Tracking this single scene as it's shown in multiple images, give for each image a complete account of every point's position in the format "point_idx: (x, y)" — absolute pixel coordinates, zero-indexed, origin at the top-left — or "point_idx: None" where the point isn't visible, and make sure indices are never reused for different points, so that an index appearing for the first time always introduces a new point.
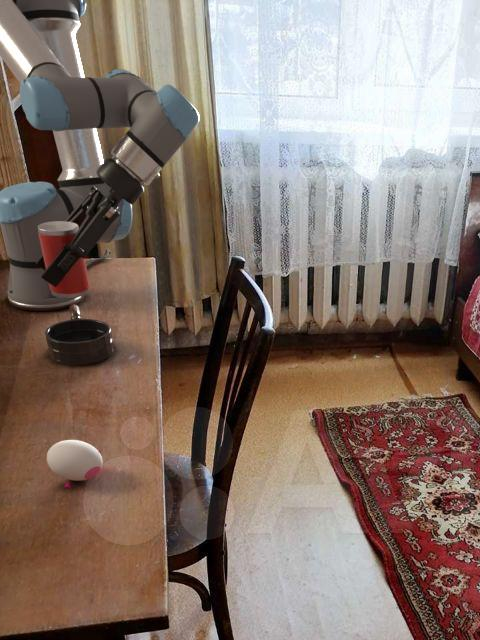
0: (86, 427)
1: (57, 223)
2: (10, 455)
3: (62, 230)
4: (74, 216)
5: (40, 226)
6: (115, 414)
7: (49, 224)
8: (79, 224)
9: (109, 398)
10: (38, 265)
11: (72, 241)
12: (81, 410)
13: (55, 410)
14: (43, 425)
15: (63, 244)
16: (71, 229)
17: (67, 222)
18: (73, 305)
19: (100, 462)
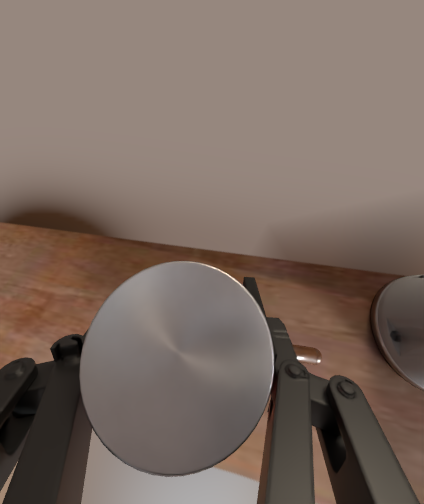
0: (5, 297)
1: (228, 358)
2: (7, 224)
3: (89, 357)
4: (311, 501)
5: (195, 272)
6: (10, 336)
7: (218, 316)
8: (261, 494)
9: (53, 339)
10: (243, 282)
11: (56, 383)
12: (46, 301)
13: (64, 275)
14: (40, 259)
15: (82, 340)
16: (86, 411)
17: (236, 420)
18: (313, 355)
19: None
